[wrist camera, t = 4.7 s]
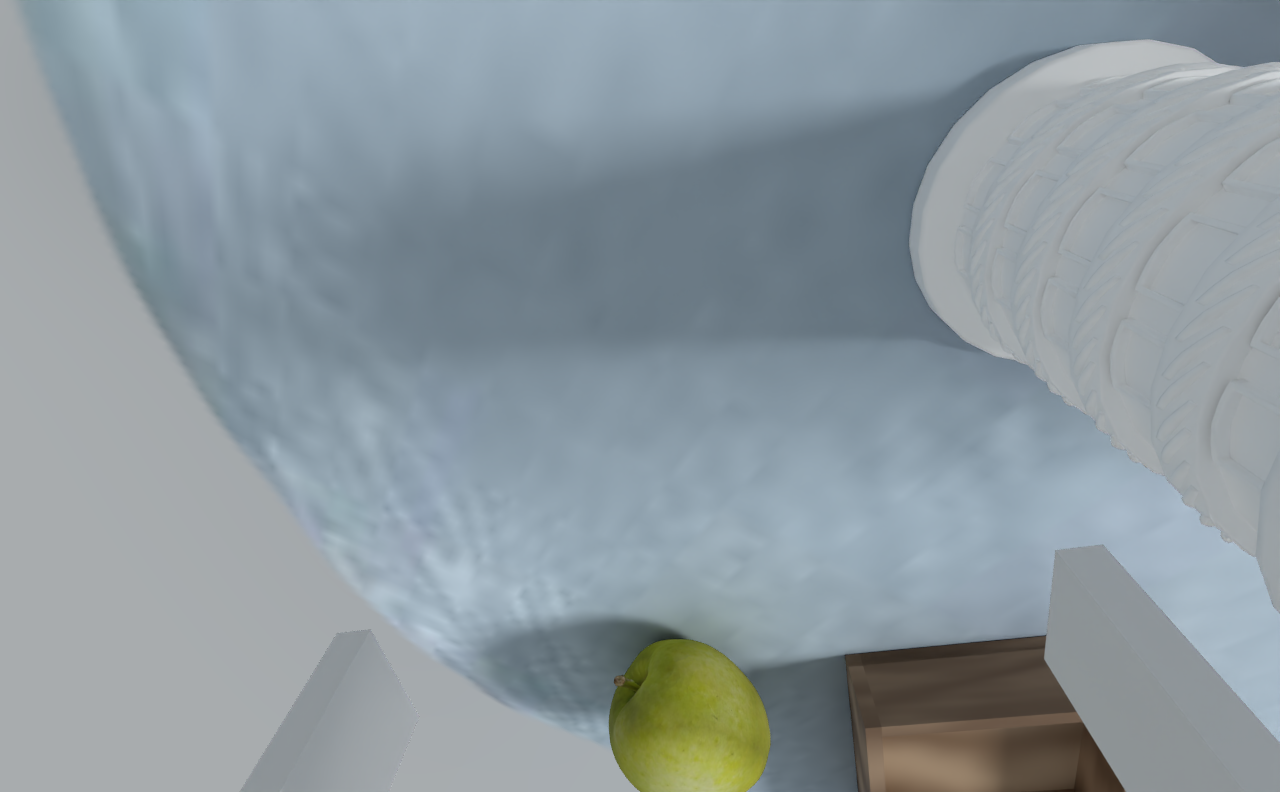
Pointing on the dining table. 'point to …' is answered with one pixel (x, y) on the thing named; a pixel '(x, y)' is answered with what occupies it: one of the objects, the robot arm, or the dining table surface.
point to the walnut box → (969, 722)
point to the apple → (688, 721)
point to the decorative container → (1128, 260)
